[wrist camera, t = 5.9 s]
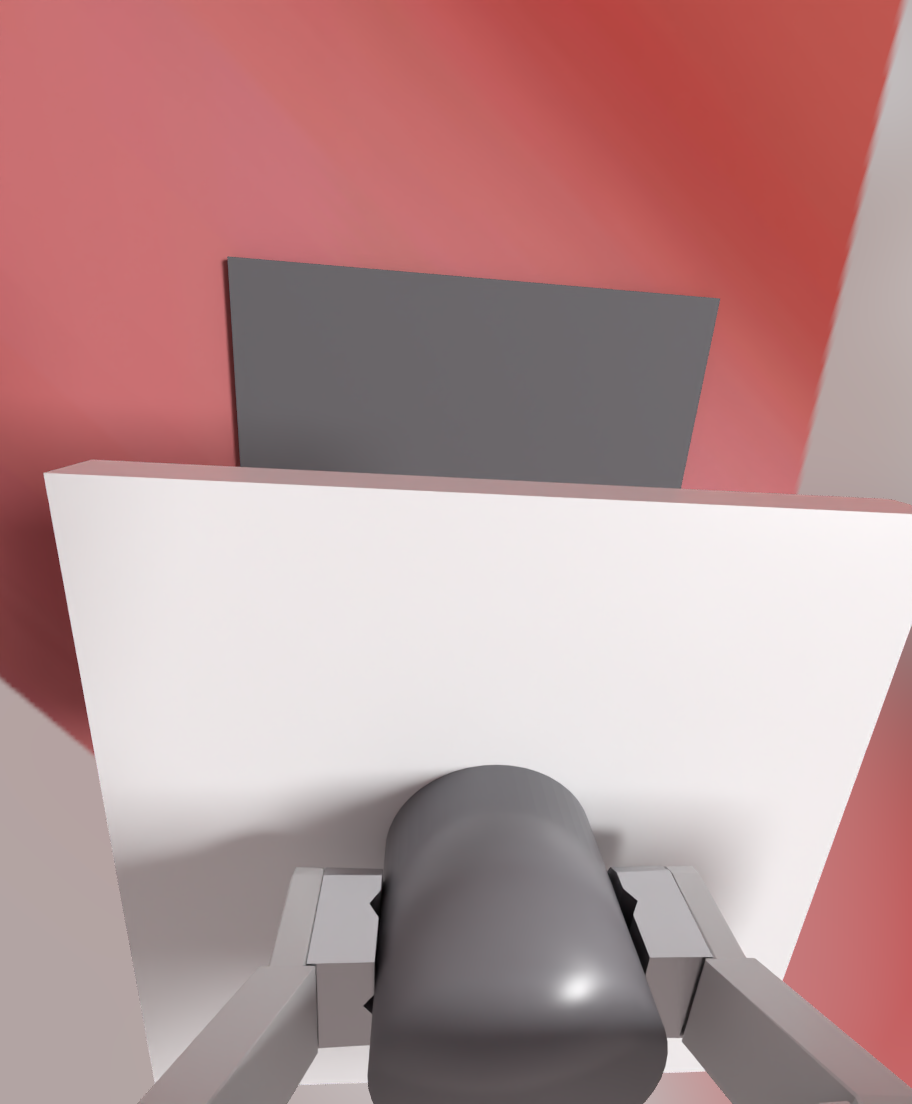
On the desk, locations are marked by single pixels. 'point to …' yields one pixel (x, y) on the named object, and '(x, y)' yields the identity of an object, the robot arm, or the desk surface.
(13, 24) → the desk surface
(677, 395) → the mat
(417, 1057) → the cover
